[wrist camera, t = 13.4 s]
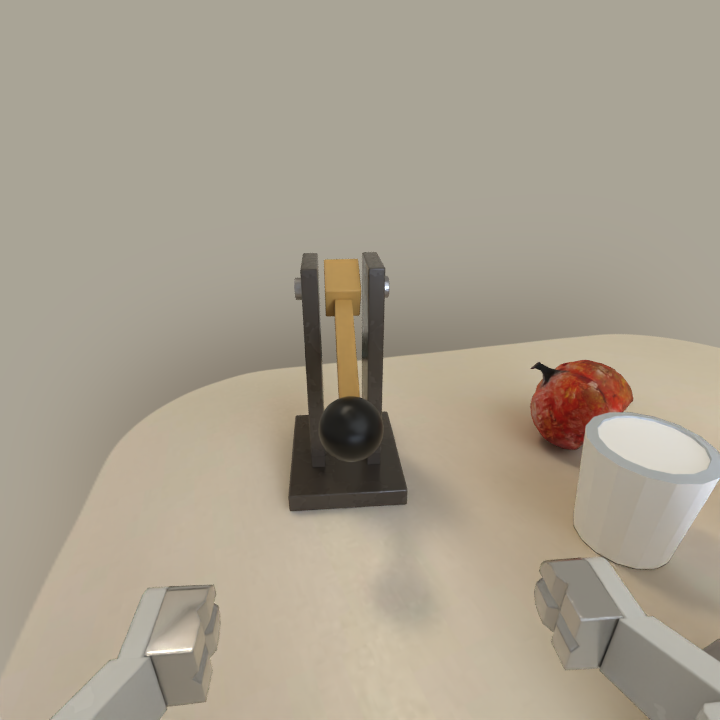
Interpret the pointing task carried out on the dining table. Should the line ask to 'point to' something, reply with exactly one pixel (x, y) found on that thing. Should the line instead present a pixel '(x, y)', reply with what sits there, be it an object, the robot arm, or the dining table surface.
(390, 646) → the dining table surface
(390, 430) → the grey lever stand
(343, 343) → the latch lever
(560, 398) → the pomegranate
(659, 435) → the white cup
